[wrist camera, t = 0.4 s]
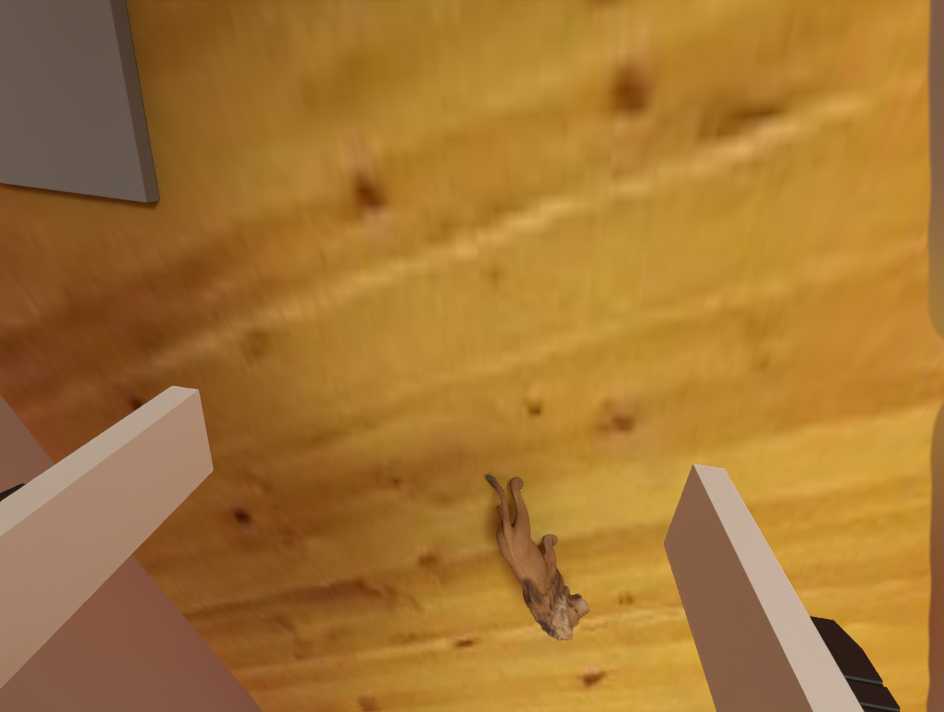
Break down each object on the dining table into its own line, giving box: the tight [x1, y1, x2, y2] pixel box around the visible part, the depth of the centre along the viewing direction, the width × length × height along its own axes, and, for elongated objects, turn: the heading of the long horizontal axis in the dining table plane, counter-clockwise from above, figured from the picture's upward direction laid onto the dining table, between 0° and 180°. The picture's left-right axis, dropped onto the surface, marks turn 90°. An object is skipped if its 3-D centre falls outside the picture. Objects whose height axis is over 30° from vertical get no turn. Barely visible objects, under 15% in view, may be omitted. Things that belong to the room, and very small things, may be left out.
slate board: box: [0, 0, 160, 203], centre depth 35 cm, size 14×14×1 cm
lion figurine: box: [486, 475, 590, 641], centre depth 44 cm, size 15×5×9 cm, turn 37°
